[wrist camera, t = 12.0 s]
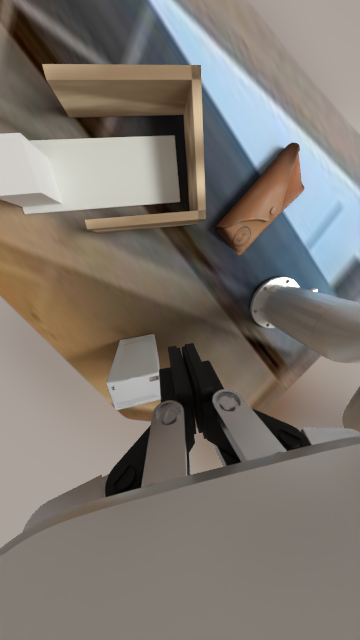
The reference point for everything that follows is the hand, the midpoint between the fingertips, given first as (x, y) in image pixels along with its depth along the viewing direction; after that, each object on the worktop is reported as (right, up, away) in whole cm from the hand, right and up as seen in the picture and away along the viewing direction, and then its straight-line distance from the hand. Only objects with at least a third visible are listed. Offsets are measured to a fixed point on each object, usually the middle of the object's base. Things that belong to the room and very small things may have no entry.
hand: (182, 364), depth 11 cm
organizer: (-7, +27, +17) cm, 33 cm away
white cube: (-23, +25, +16) cm, 37 cm away
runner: (-13, +27, +17) cm, 34 cm away
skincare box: (-10, -3, +30) cm, 31 cm away
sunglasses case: (+15, +25, +23) cm, 37 cm away
